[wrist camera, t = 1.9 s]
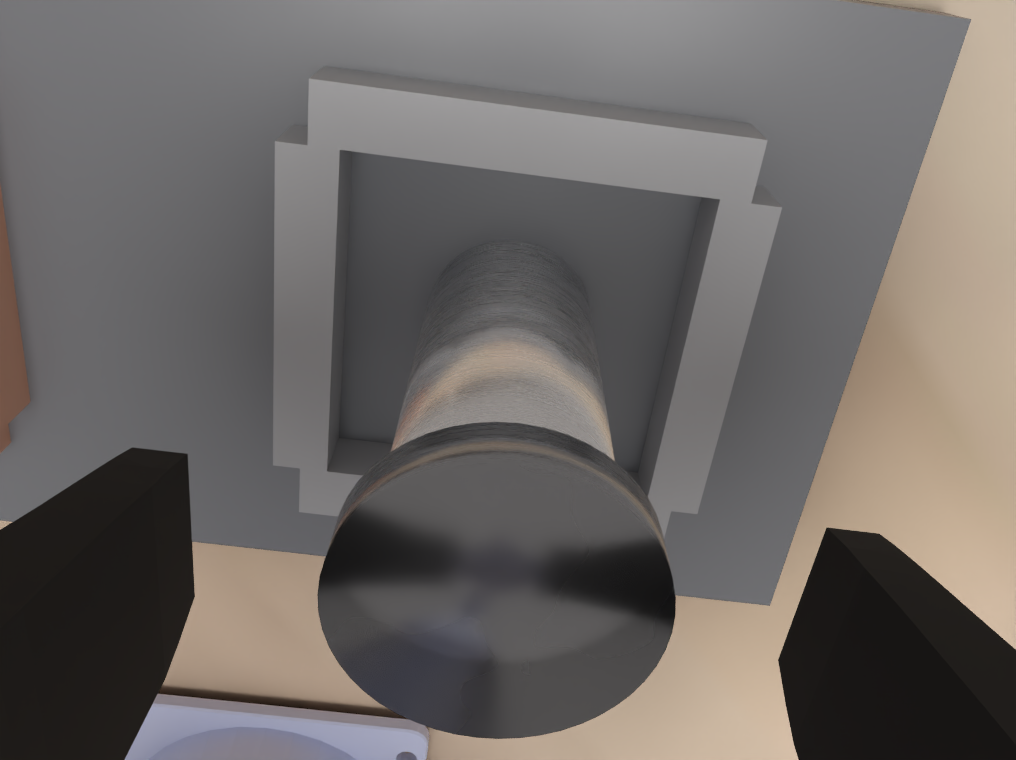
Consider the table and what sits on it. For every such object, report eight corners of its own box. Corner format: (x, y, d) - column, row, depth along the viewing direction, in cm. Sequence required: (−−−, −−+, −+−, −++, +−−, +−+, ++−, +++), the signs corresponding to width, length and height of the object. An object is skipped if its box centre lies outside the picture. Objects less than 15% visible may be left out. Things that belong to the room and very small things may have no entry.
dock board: (758, 575, 20) (783, 645, 18) (-427, 442, 19) (-534, 502, 17) (944, 13, 15) (1008, 28, 13) (-706, -222, 14) (-910, -244, 12)
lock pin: (592, 419, 17) (637, 753, 11) (398, 396, 17) (313, 720, 10) (630, 232, 16) (712, 487, 9) (413, 205, 15) (323, 442, 9)
